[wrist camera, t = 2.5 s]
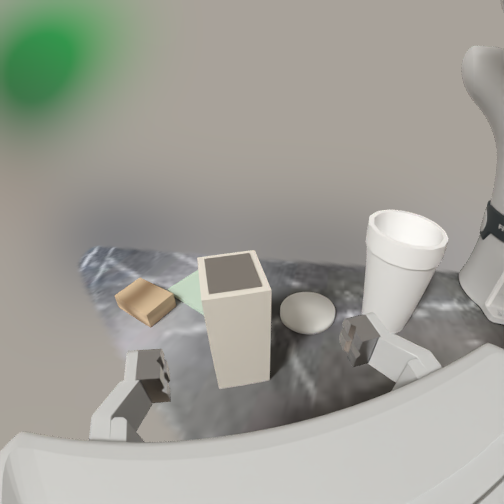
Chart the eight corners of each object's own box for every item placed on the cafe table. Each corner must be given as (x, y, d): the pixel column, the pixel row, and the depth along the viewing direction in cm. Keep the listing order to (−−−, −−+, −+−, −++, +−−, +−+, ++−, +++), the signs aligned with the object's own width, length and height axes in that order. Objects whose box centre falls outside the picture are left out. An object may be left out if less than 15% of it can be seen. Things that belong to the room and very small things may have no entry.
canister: (269, 380, 28) (271, 288, 21) (219, 388, 27) (201, 299, 21) (257, 339, 33) (254, 248, 26) (212, 346, 32) (197, 256, 26)
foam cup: (354, 289, 40) (370, 204, 33) (414, 300, 37) (439, 218, 30) (345, 336, 32) (367, 239, 26) (416, 349, 29) (455, 257, 22)
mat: (265, 284, 42) (265, 280, 41) (217, 323, 35) (217, 320, 35) (215, 261, 47) (215, 258, 47) (168, 292, 40) (167, 289, 40)
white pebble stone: (342, 310, 37) (344, 304, 36) (317, 344, 32) (319, 337, 31) (298, 292, 40) (298, 285, 40) (269, 321, 36) (269, 314, 35)
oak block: (176, 307, 38) (173, 293, 37) (151, 329, 35) (146, 315, 33) (143, 291, 41) (139, 277, 40) (119, 309, 38) (114, 295, 37)
